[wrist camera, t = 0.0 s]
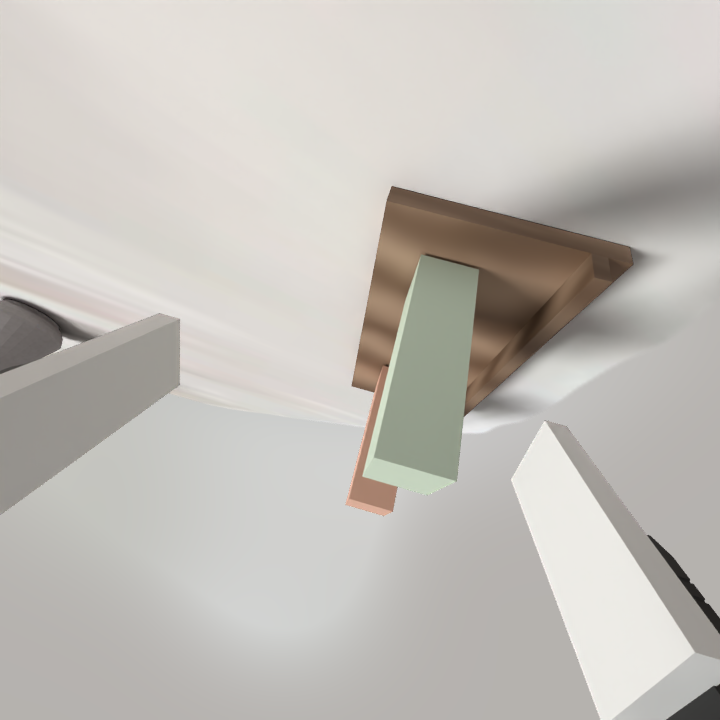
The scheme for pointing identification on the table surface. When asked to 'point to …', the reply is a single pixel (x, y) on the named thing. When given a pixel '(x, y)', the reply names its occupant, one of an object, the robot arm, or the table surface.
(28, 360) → the coffee pot
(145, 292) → the table surface
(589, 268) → the wooden board
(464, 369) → the pale green block
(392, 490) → the salmon orange rectangular block
